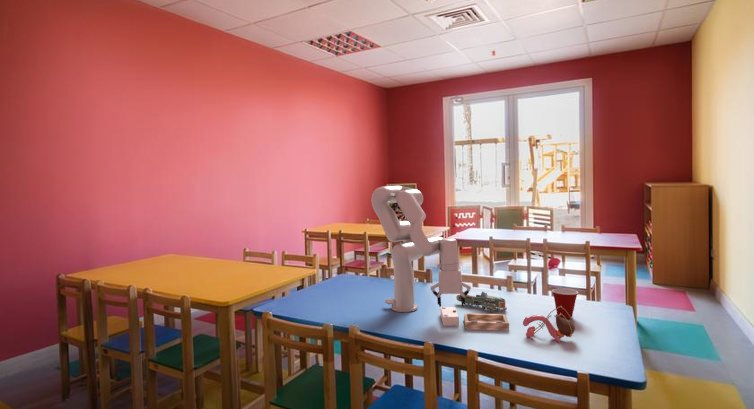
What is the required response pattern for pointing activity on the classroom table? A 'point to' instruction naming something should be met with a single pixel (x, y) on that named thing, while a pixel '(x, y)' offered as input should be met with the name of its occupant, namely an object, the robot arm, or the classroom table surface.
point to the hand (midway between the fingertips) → (451, 305)
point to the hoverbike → (484, 301)
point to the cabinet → (486, 321)
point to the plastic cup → (565, 301)
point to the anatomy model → (551, 326)
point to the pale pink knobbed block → (449, 316)
